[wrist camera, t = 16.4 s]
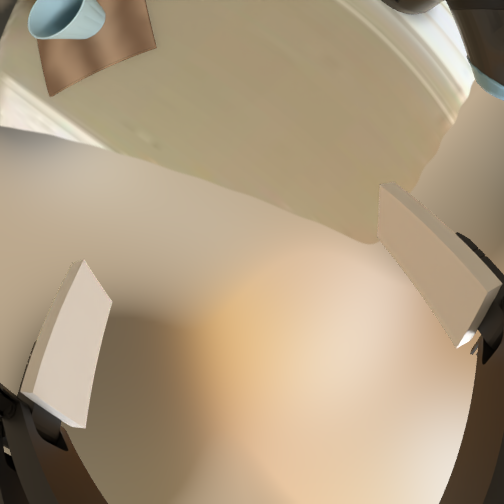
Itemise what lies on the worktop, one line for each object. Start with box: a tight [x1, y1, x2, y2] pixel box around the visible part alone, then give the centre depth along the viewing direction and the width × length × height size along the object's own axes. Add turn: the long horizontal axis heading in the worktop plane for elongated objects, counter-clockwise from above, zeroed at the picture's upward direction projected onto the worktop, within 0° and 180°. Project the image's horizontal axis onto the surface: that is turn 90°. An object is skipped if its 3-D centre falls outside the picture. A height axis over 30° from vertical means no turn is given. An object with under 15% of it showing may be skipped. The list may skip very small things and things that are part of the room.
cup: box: [28, 0, 105, 39], centre depth 18 cm, size 8×8×10 cm
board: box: [37, 0, 157, 97], centre depth 22 cm, size 17×17×1 cm
